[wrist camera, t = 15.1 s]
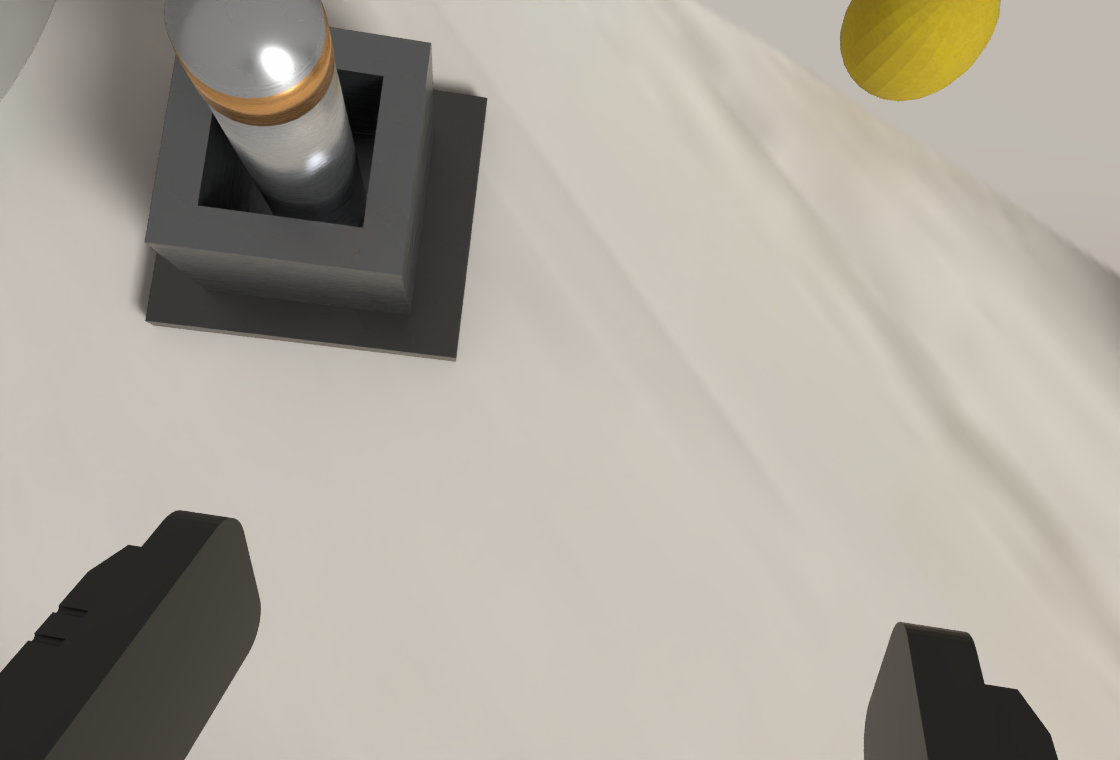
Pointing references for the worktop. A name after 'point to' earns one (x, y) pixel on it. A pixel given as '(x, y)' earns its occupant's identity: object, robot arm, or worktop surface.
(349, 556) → the worktop surface
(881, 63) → the lemon
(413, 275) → the dark grey open bin
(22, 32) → the lumpy-topped squat cylinder
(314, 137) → the silver copper-banded cylinder
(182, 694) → the robot arm
